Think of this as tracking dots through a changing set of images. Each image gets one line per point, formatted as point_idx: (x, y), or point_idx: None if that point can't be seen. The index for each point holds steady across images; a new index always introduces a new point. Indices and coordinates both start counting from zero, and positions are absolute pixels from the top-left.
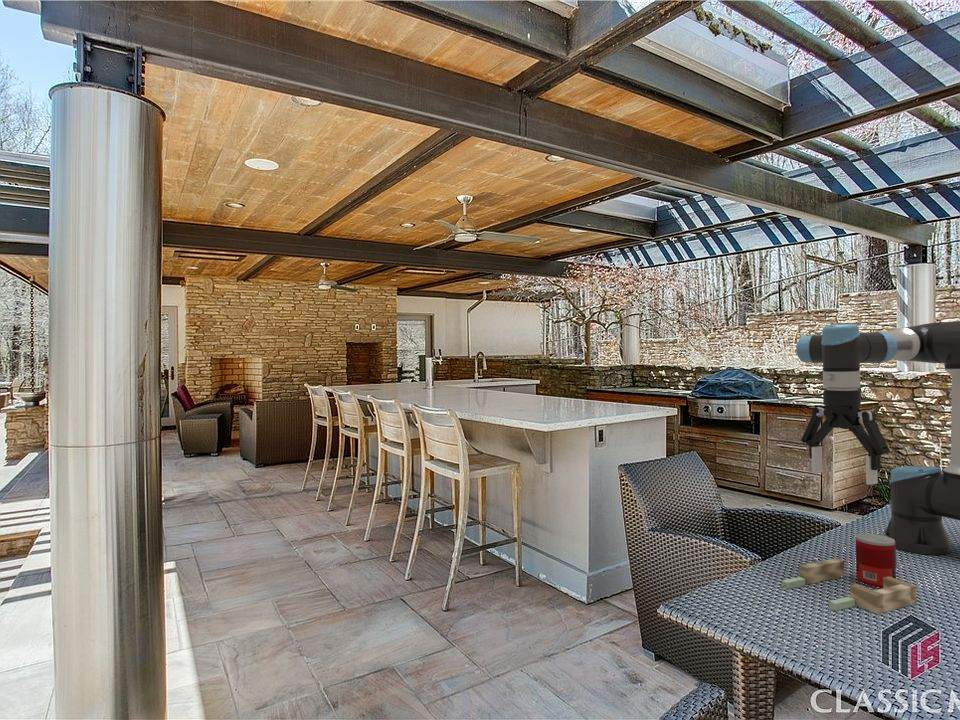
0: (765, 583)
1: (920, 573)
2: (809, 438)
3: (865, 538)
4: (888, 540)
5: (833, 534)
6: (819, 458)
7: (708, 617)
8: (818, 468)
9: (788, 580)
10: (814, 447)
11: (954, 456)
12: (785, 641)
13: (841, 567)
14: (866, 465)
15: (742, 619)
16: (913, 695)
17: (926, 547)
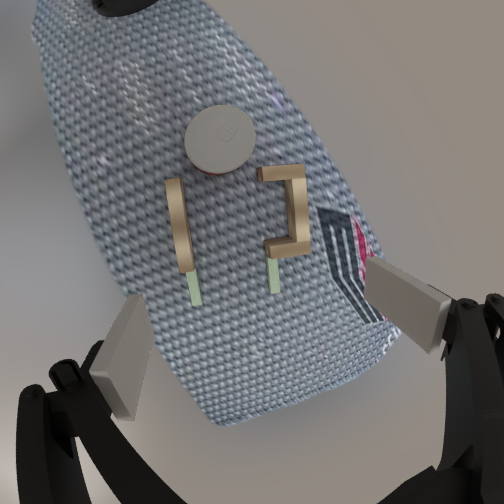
0: (177, 314)
1: (210, 55)
2: (50, 422)
3: (207, 151)
4: (234, 118)
5: (44, 61)
6: (132, 346)
7: (247, 408)
8: (144, 326)
9: (194, 296)
10: (133, 419)
11: None
12: (309, 375)
13: (181, 184)
14: (404, 330)
15: (261, 387)
16: (395, 333)
17: None
